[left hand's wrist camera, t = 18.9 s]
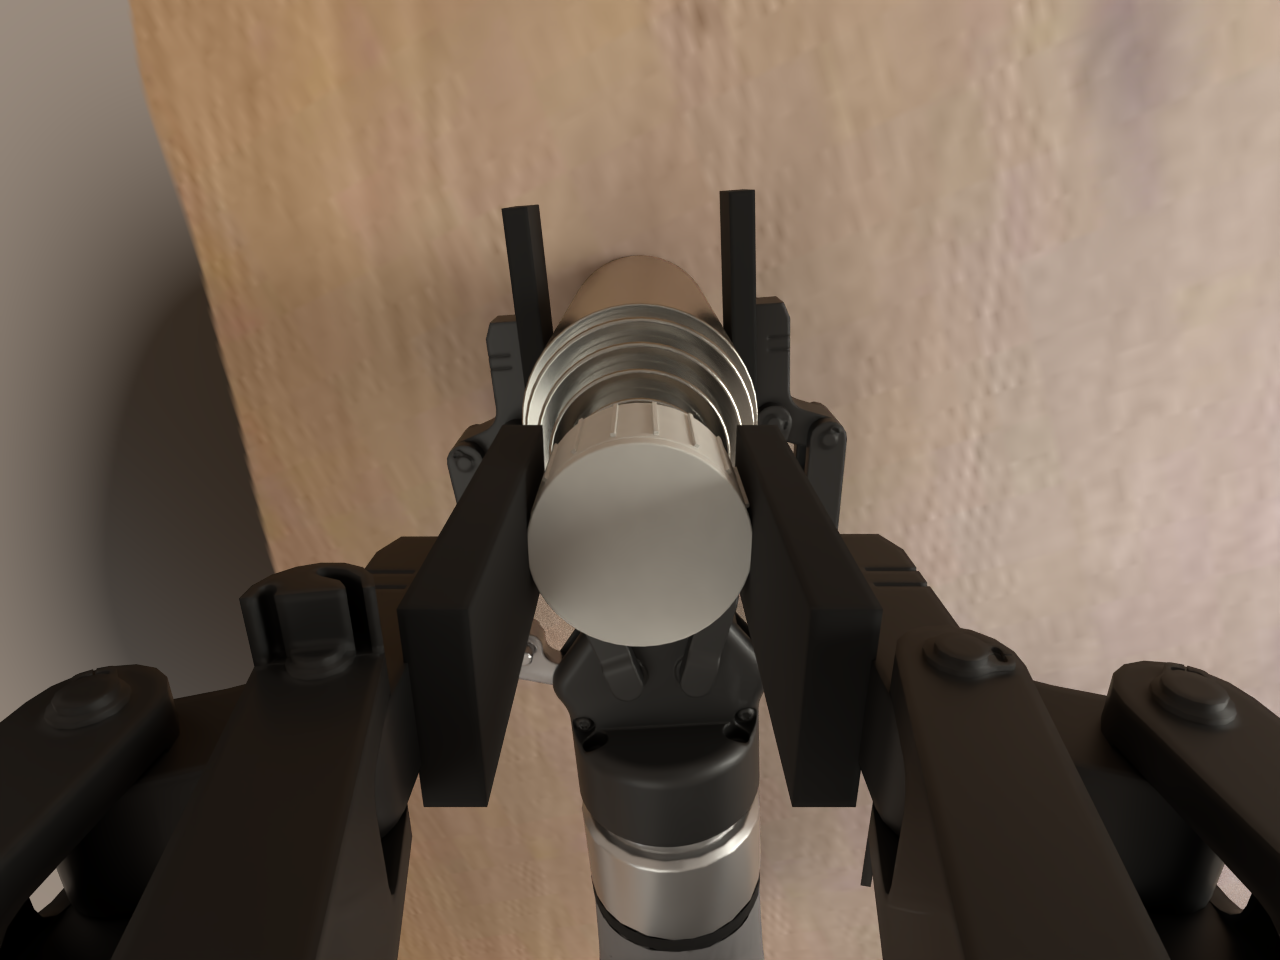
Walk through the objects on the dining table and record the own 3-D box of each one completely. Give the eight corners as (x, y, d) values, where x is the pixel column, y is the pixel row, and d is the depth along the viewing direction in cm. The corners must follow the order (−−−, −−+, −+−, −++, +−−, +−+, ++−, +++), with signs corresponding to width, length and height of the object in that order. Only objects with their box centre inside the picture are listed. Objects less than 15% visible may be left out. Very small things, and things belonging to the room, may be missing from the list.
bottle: (724, 379, 32) (839, 644, 13) (590, 412, 32) (525, 710, 14) (693, 238, 30) (781, 323, 11) (551, 275, 30) (412, 414, 12)
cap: (653, 356, 13) (656, 389, 11) (779, 506, 14) (804, 563, 12) (499, 482, 14) (474, 536, 12) (629, 615, 15) (626, 686, 13)
